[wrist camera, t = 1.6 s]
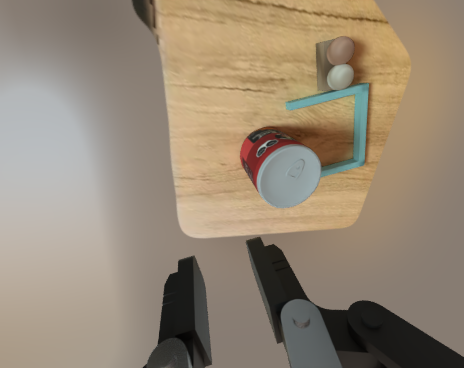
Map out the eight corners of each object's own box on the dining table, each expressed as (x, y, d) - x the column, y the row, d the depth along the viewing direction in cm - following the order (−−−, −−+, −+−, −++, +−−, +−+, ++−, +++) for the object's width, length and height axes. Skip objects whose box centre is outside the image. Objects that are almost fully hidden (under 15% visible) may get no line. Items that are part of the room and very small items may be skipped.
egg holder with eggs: (315, 42, 31) (335, 37, 27) (337, 37, 31) (361, 31, 27) (317, 91, 34) (335, 93, 29) (337, 86, 34) (359, 87, 30)
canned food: (292, 131, 36) (332, 152, 26) (277, 177, 39) (307, 212, 29) (246, 120, 34) (270, 139, 24) (233, 170, 37) (250, 205, 27)
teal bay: (285, 102, 34) (289, 103, 32) (361, 82, 34) (368, 83, 33) (293, 180, 39) (297, 183, 38) (358, 162, 40) (364, 165, 39)
